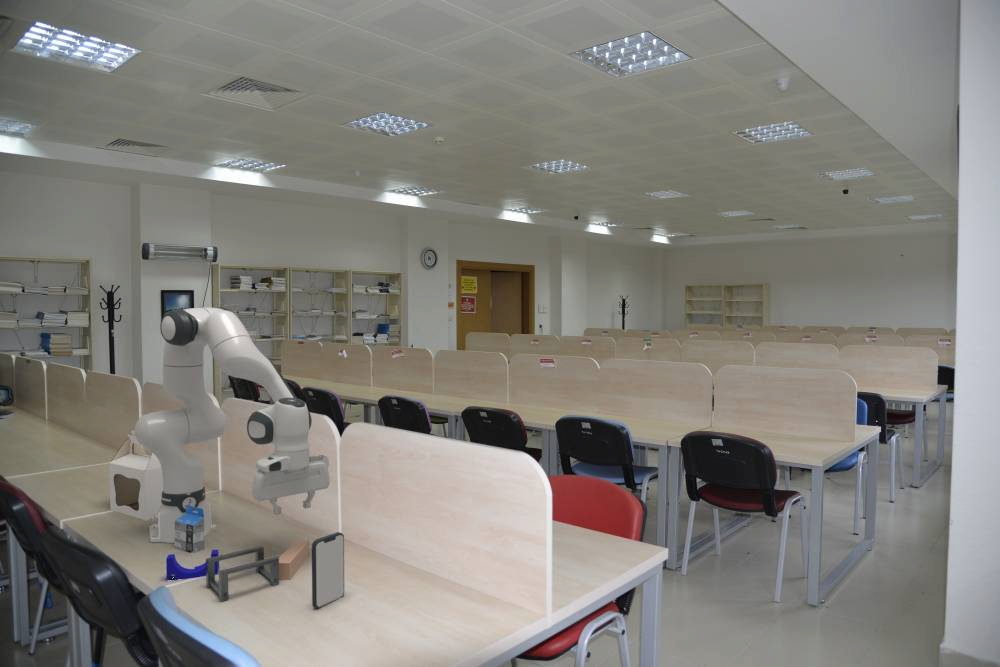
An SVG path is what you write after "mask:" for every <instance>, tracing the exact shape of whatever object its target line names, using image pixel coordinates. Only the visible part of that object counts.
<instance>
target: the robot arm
mask: <svg viewBox="0 0 1000 667" xmlns="http://www.w3.org/2000/svg"><path fill="white" fill-rule="evenodd" d="M159 327H160V333H161V336H162V338H163V339H164V340H165V343H164V349H163V357H162V359H163V361H162V362H163V363H162V388H163V390H164V392H165V393H166V394H168V396H171V397H173V398H174V399H177V400H180V401H182V407H181V408H174V409H165V410H157V411H154V412H149V413H147V414H142V415H141V416H140V417H139V418H138V420H137V422H136V423H135V427H134V430H135V436H136V439H137V441H138V442H139V443H140V445H141V446H142V448H145V449H147V450H148V451H150V452H151V453H152V452H153V453H154V454H155V456H156V457H157V458H158V460H159V462H160V464H161V468H162V475H163V491H162V495H161V503H162V504H161V506H160V507H159V509H158V510H157V515H151V519H150V520H151V521H150V522H151V523H152V524H150V525H149V527H148V531H149V533H148V534H149V543H168V544H169V543H170V544H171V543H173V544H174V540H175V520H177V519H178V518H180V517H181V516H182V515H183V514H185V513H186V508H185V505H189V506H194V507H198V508H202V509H203V512H204V537H205V536H206V535H208V534H209V533H210V532H211V531H212V530H214V529H215V528H217V524H214V523H212V511H211V503H209V502H208V501H206V487H205V486H204V464H203V462H202V461H201V460H200V459H199V458H198V457H195V456H193V455H191V454H188V453H185V452H184V446H185V445H190V444H199V443H204V442H208V441H212V440H215V439H217V438H220V437H222V436H223V435H224V433H225V431H226V430H227V426H228V425H227V424H228V423H227V422H228V420H227V416H226V414H225V412H224V411H223V410H222V409H221V408H219V407H218V406H217V405H215V403H213V402H212V400H210V399H209V396H208V395H207V392H206V388H205V376H204V375H205V374H204V373H205V372H204V363H205V362H204V351H205V350H204V349H205V348H206V347H207V345H208V348H209V350H210V352H211V354H212V357H213V359H214V361H215V364H217V366H218V368H219V370H221V371H222V372H223V373H224V374H226V375H227V376H230V377H233V378H237V379H243V380H247V381H250V382H253V383H255V384H258V385H260V386H262V387H263V388H264V389H265V390H266V392H267V394H268V395H269V396H270V398H271V399H272V401H273V402H274V404H272V405H270V406H268V407H265V408H262V409H258V410H256V411H254V412H252V413H251V414H250V416H249V417H248V420H247V423H246V431H247V435H248V438H249V439H250V440H251V441H252V442H253V443H254V444H256V445H262V446H264V445H265V446H266V445H271V444H273V445H274V452H273V453H271V454H269V455H267V456H264V457H263V458H261V459H258V460H257V461H256V463H255V467H256V469H257V471H255V473H254V474H253V477H252V478H253V479H252V490H251V491H252V497H253V499H255V500H256V501H259V502H263V501H268V502H269V503H270V505H271V507H273V514H274V515H275V516H276V515H280V514H282V506H280V505H277V502H278V498H279V499H280V498H284V497H289V496H296V495H299V494H307V496H306V499H305V500H303V501H302V503H303V505H302V507H303V509H310V508H311V506H312V500H313V498H314V497H315V495H316V491H321V490H325V489H328V488H329V486H330V484H331V483H330V472H329V465H330V464H329V462H330V461H329V458H328V457H327V456H325V455H324V454H319V455H312V456H310V444H309V440H308V438H309V434H310V430H311V426H312V422H313V421H312V415H311V413H310V411H309V409H308V406H307V403H306V401H304V400H302V399H300V398H298V396H296V394H295V393H294V391H293V390H292V388H291V386H290V385H289V384H288V382H287V381H286V379H285V377H284V376H283V374H282V373H281V371H280V370H279V369H278V367H277V366H276V365H275V363H274V362H272V361H271V360H270V359H269V358H267V356H265V355H264V354H263V353H262V352H261V350H259V349H258V347H257V346H256V345H255V344H254V342H253V340H252V338H251V336H250V334H249V332H248V330H247V328H246V327H245V326H244V324H243V322H242V321H241V319H240V318H239V317H238V316H237V314H236V312H235V311H233V310H232V309H229V308H227V307H225V308H224V307H209V306H207V307H206V306H200V307H199V306H198V307H193V308H191V307H190V308H176V309H173V310H172V309H171V310H169V311H167V312H166V313H164V315H163V317H162V318H161V320H160V326H159ZM192 512H195V513H198V512H197V511H195V510H192ZM153 523H154V524H153Z"/></svg>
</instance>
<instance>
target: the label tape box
mask: <svg viewBox="0 0 1000 667" xmlns="http://www.w3.org/2000/svg"><path fill="white" fill-rule="evenodd" d="M185 508H186V513H185V514H183V515H182V516H181V517H180V518H178V519H177V520H175V540H174V543H173V544H174V546H173V547H174V549H175V550H180V551H183V552H186V553H190V554H195V553H198V552H200V551H202V550H205V536H204V512H203V509H202V508H198V507H194V506H189V505H185ZM192 510H195V511H197V512H198V513H195V512H192Z"/></svg>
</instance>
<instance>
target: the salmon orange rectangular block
mask: <svg viewBox="0 0 1000 667" xmlns="http://www.w3.org/2000/svg"><path fill="white" fill-rule="evenodd" d="M309 555H310V540H294V541H293V542H292V544H291V545H290V546H288V547H287V549H285V551H284V552H283V553H282V554H281V555H280V556H279V557H278V558H279V581H290V580H291V579H292V578H293V576H294V575H295V573H296V572H297V571H298V570H299V569H300V567H301V566H302V565H303V563H304V562H305V561H306V559H307V557H309Z"/></svg>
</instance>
